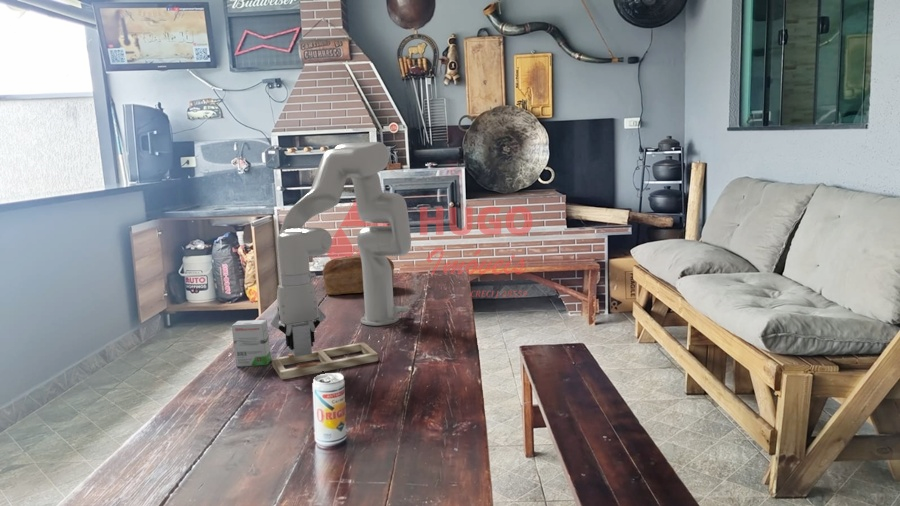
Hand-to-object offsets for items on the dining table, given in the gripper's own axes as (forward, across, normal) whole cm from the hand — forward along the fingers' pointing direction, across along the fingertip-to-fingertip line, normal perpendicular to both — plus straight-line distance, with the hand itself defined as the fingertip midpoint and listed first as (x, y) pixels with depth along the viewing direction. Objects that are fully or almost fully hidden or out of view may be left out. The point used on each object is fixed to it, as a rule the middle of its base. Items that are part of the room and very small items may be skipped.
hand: (300, 346), depth 171 cm
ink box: (+6, +11, -11) cm, 17 cm away
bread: (+6, -41, -76) cm, 87 cm away
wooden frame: (+6, -6, 0) cm, 9 cm away
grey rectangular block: (+2, 0, 0) cm, 2 cm away
